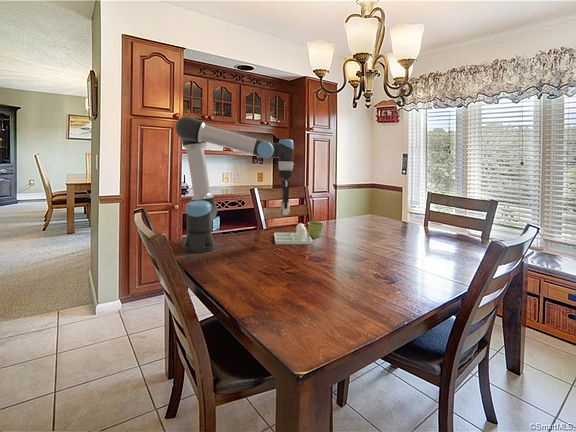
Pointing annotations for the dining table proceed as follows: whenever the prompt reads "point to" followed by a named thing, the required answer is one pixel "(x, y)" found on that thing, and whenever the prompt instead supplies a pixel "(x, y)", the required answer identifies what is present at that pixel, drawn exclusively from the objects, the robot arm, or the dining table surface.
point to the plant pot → (315, 229)
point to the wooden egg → (282, 208)
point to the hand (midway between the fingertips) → (285, 213)
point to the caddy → (290, 239)
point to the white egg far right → (302, 234)
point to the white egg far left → (298, 228)
